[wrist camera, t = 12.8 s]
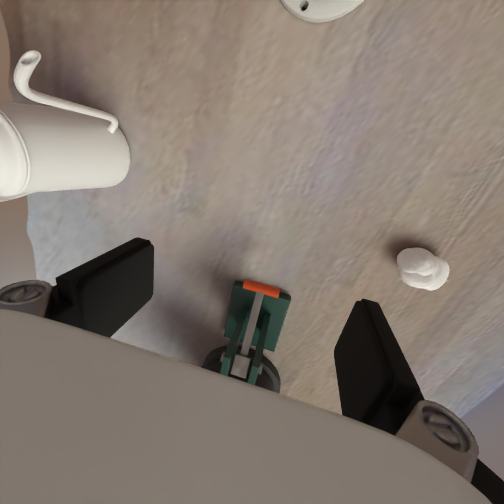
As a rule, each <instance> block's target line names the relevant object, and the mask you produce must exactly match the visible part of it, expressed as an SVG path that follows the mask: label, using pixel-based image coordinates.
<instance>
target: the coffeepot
mask: <svg viewBox="0 0 504 504" xmlns="http://www.w3.org/2000/svg"><path fill="white" fill-rule="evenodd" d="M40 59H41V54H40V53H39V52H38V51H28V52H26V53H25V54H23V55H22V57H21V58H20V59H19V61H18V63H17V66H16V68H15V71H14V83H15V86H16V88H17V90H18V91H19V92H20V93H21V94H22V95H24V96H25V97H27V98H29V99H31V100H33V101H35V102H39V103H42V104H46V105H50V106H42V105H32V104H22V103H12V102H1V101H0V202H2V201H6V200H11V199H14V198H18V197H22V196H24V195H28V194H31V193H34V192H44V191H59V190H74V189H88V188H103V187H111V186H115V185H117V184H119V183H120V182H121V181H122V180H123V179H124V178H125V177H126V175H127V173H128V170H129V167H130V151H129V147H128V144H127V141H126V139H125V137H124V135H123V133H122V131H121V130H120V128H119V127H118V120H117V118H116V117H115V116H114V115H112V114H110V113H108V112H105V111H101V110H98V109H95V108H91V107H88V106H84V105H81V104H78V103H74V102H71V101H67V100H64V99H60V98H57V97H54V96H50V95H47V94H44V93H40V92H37V91H35V90H33V89H31V88H30V87H29V85H28V82H29V79H30V77H31V75H32V73H33V71H34V69H35V67H36V66H37V64H38V62H39V61H40ZM52 106H54V107H52Z"/></svg>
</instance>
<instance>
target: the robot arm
mask: <svg viewBox="0 0 504 504" xmlns="http://www.w3.org/2000/svg"><path fill="white" fill-rule="evenodd" d="M280 1H281V3H282V4H283V5H284V6H285V7H286V9H287V10H288V11H289V12H290V13H292V14H293V15H295V16H296V17H298V18H300V19H302V20H305V21H308V22H315V23H322V22H329V21H332V20H335V19H338V18H341V17H343V16H344V15H346V14H348V13H349V12H351V11H353V10H354V9H355V8H356V7H357V6H359V5H360V4H361V3H362V2H363V1H364V0H280ZM304 7H305V8H306V10H305V11H302V8H304ZM153 280H154V246H153V245H152V244H151V242H150V241H149V240H146V239H142V238H138V237H137V238H134V239H132V240H130V241H128V242H126V243H124V244H122V245H120V246H118V247H116V248H114V249H112V250H110V251H108V252H106V253H104V254H102V255H100V256H98V257H96V258H94V259H92V260H90V261H88V262H86V263H84V264H82V265H80V266H78V267H76V268H74V269H72V270H70V271H68V272H66V273H64V274H62V275H60V276H58V277H56V283H57V285H56V286H54V287H52V286H51V285H50V284H49V283H48V282H45V281H40V280H28V281H21V282H17V283H13V284H10V285H8V286H5V287H3V288H1V289H0V504H504V481H503V480H502V479H501V478H499V477H498V476H497V475H496V474H495V473H494V472H493V471H491V470H490V469H489V468H488V467H487V466H486V465H485V464H484V463H482V462H481V461H480V460H479V459H478V454H479V447H478V445H477V441H476V439H475V437H474V436H473V434H472V432H471V431H470V430H469V428H468V427H467V426H466V425H465V424H464V423H463V421H462V420H461V419H460V418H458V417H457V416H456V415H455V414H454V413H453V412H451V411H450V410H448V409H447V408H445V407H444V406H442V405H440V404H438V403H436V402H433V401H429V400H425V399H424V397H423V395H422V393H421V391H420V388H419V386H418V384H417V381H416V379H415V377H414V375H413V373H412V371H411V369H410V367H409V365H408V363H407V361H406V359H405V357H404V355H403V353H402V351H401V349H400V346H399V344H398V342H397V340H396V338H395V336H394V334H393V332H392V330H391V328H390V326H389V324H388V322H387V320H386V318H385V316H384V314H383V312H382V309H381V307H380V305H379V304H378V303H377V302H374V301H370V300H366V299H362V300H361V301H357V302H356V303H355V305H354V307H353V309H352V311H351V313H350V316H349V318H348V320H347V322H346V324H345V326H344V329H343V331H342V333H341V335H340V337H339V339H338V342H337V344H336V346H335V349H334V359H335V366H336V373H337V380H338V387H339V394H340V401H341V408H342V415H340V414H337V413H334V412H331V411H328V410H325V409H323V408H320V407H317V406H314V405H311V404H308V403H305V402H302V401H300V400H297V399H294V398H291V397H288V396H285V395H282V394H279V393H276V392H273V391H270V390H267V389H264V388H261V387H258V386H255V385H252V384H249V383H246V382H243V381H240V380H237V379H234V378H231V377H228V376H225V375H222V374H219V373H216V372H213V371H210V370H207V369H204V368H201V367H197V366H194V365H191V364H188V363H185V362H182V361H179V360H176V359H173V358H170V357H167V356H164V355H161V354H158V353H155V352H152V351H149V350H146V349H142V348H139V347H136V346H133V345H130V344H127V343H124V342H121V341H118V340H114V339H111V338H110V337H111V336H112V335H113V334H114V333H115V332H116V331H117V330H118V329H119V328H121V327H122V326H123V325H124V324H125V323H126V322H127V321H128V320H129V319H130V318H131V317H132V316H133V315H134V314H135V313H136V312H137V311H139V310H140V309H141V308H142V307H143V306H144V305H145V304H146V303H147V302H148V301H149V300H150V299H151V297H152V295H153Z"/></svg>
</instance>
